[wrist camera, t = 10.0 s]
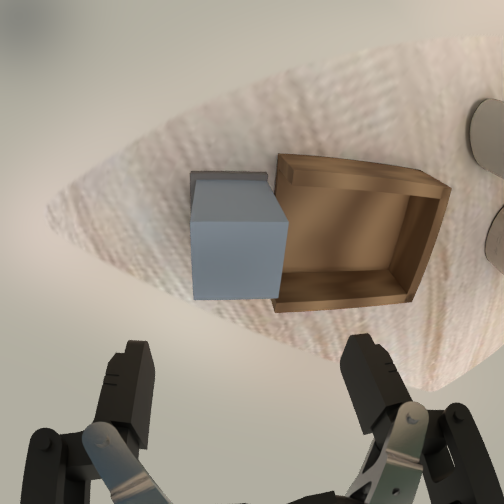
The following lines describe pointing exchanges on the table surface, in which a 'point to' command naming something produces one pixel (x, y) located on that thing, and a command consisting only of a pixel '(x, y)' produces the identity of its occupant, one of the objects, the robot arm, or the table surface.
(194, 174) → the coaster
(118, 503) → the robot arm
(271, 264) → the block
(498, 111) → the can
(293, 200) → the crate
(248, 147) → the table surface
